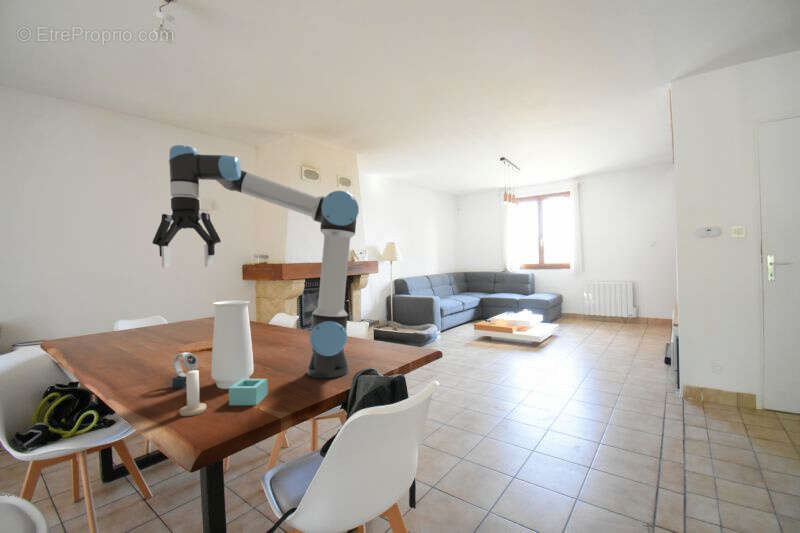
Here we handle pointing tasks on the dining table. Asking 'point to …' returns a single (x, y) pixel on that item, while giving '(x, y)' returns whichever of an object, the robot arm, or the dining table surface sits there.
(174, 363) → the watch
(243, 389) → the teal storage bin
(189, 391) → the post
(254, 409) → the dining table surface
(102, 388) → the dining table surface
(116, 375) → the dining table surface
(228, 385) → the vase
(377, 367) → the dining table surface
